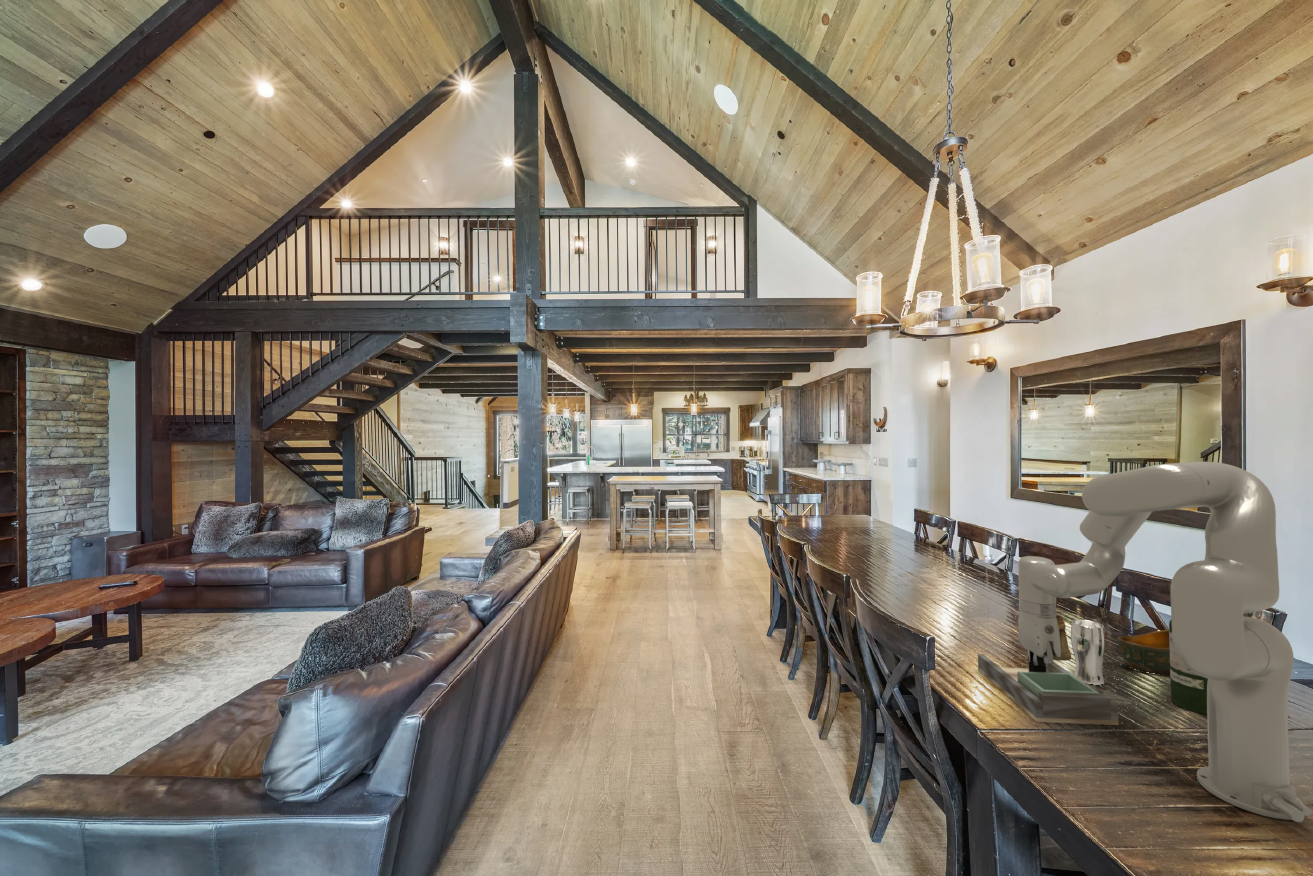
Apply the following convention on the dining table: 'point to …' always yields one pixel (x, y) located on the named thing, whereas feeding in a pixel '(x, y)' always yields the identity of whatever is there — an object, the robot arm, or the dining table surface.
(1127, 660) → the green gold bowl
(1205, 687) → the wine bottle
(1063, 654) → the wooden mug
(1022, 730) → the dining table surface
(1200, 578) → the robot arm
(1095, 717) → the bay
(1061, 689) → the box
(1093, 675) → the beer glass
